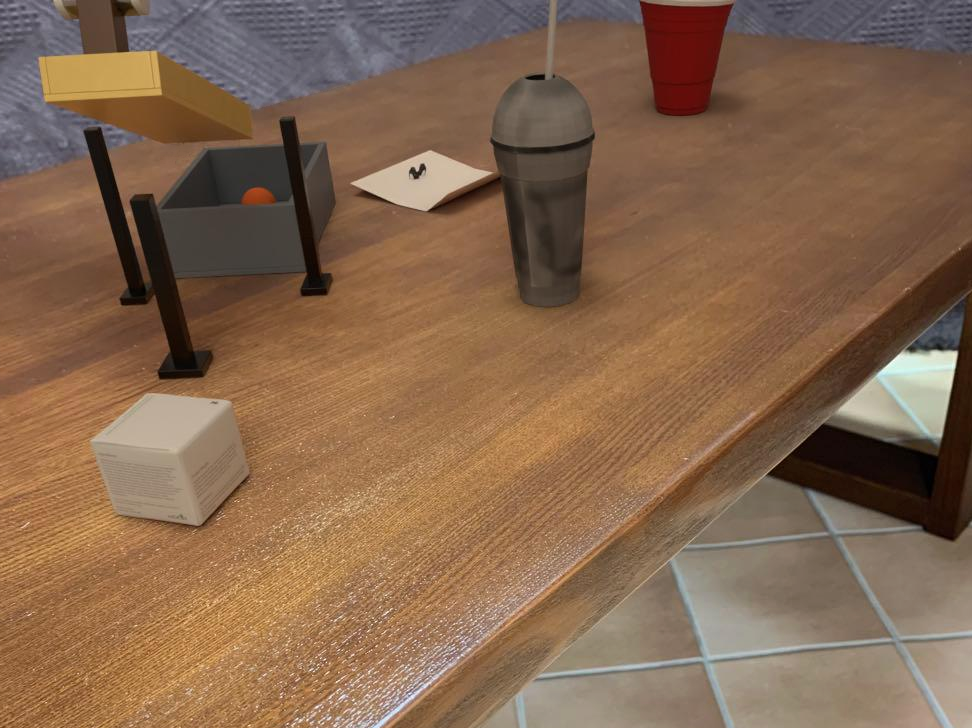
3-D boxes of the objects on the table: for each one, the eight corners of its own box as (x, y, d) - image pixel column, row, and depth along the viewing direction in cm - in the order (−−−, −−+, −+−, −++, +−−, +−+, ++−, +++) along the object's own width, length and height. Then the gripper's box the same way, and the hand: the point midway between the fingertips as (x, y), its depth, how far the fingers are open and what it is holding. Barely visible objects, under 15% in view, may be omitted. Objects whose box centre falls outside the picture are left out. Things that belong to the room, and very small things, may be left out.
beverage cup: (487, 287, 83) (464, -1, 71) (573, 268, 85) (565, -13, 73) (523, 322, 77) (505, 17, 65) (614, 301, 79) (612, 2, 68)
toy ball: (232, 188, 94) (237, 224, 95) (250, 188, 92) (255, 224, 93) (262, 186, 96) (267, 221, 97) (280, 186, 94) (285, 221, 95)
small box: (167, 462, 64) (146, 388, 61) (253, 474, 62) (235, 398, 59) (110, 516, 59) (84, 439, 56) (201, 530, 58) (179, 451, 55)
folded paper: (431, 161, 110) (429, 141, 109) (527, 178, 104) (526, 157, 103) (349, 195, 102) (346, 175, 101) (448, 216, 96) (446, 194, 95)
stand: (299, 372, 72) (261, 181, 65) (63, 384, 73) (-2, 195, 65) (332, 279, 85) (304, 111, 78) (132, 290, 86) (84, 123, 78)
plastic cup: (752, 108, 120) (760, -11, 113) (677, 127, 115) (680, 4, 108) (688, 91, 127) (692, -22, 120) (615, 108, 123) (615, -9, 116)
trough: (162, 95, 62) (141, -67, 60) (44, 102, 62) (20, -60, 60) (253, 138, 81) (240, 17, 79) (163, 143, 81) (148, 23, 79)
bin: (306, 272, 87) (294, 204, 84) (168, 279, 87) (151, 212, 84) (335, 201, 101) (326, 141, 98) (216, 207, 101) (203, 147, 98)
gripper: (-99, -235, 61) (-110, -15, 59) (258, -257, 61) (260, -37, 59) (-37, -148, 68) (-46, 54, 65) (287, -168, 67) (289, 35, 65)
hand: (102, 11), depth 62 cm, fingers closed on trough, 2 cm apart
